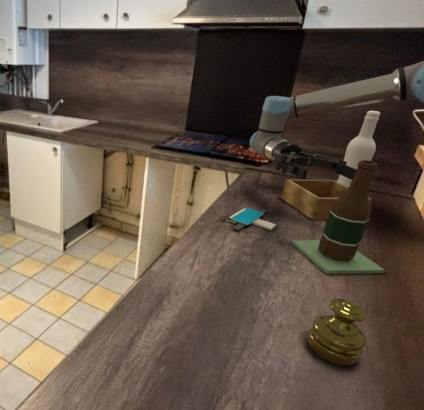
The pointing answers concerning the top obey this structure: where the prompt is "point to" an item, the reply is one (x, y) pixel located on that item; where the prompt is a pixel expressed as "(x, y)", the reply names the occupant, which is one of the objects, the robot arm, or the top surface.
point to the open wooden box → (313, 196)
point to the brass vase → (338, 333)
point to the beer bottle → (349, 216)
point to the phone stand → (249, 219)
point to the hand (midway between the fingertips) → (330, 174)
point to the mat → (332, 266)
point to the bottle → (361, 145)
